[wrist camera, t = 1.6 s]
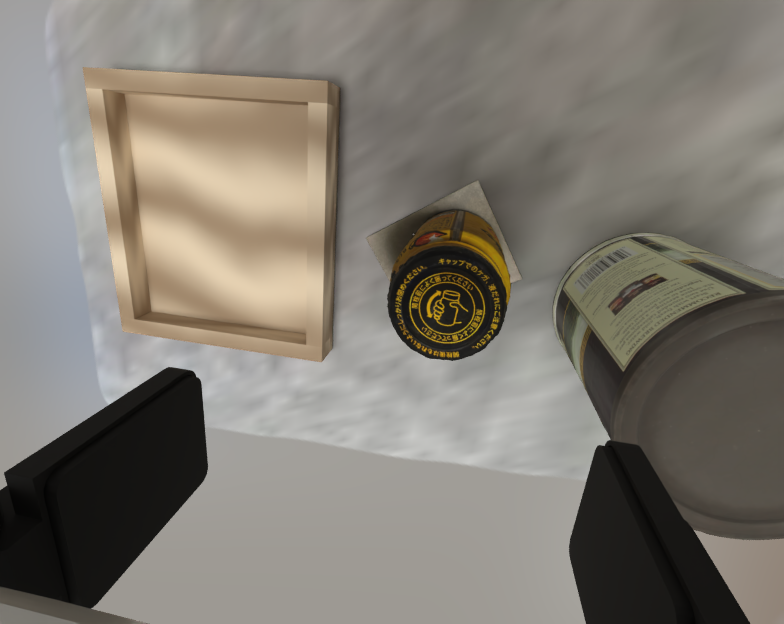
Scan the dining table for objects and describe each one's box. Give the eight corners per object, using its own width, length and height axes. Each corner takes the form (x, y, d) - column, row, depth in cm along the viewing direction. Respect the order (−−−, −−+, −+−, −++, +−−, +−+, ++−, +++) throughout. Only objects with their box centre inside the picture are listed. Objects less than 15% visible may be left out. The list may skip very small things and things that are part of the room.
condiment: (522, 278, 29) (551, 348, 18) (412, 325, 32) (379, 412, 21) (477, 179, 28) (480, 189, 17) (366, 237, 30) (304, 279, 19)
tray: (113, 74, 30) (82, 67, 27) (340, 87, 27) (327, 80, 25) (145, 320, 36) (122, 331, 34) (332, 348, 34) (321, 362, 31)
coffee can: (662, 399, 30) (807, 580, 17) (526, 343, 31) (565, 477, 18) (758, 268, 26) (1038, 371, 13) (601, 206, 27) (722, 246, 14)
